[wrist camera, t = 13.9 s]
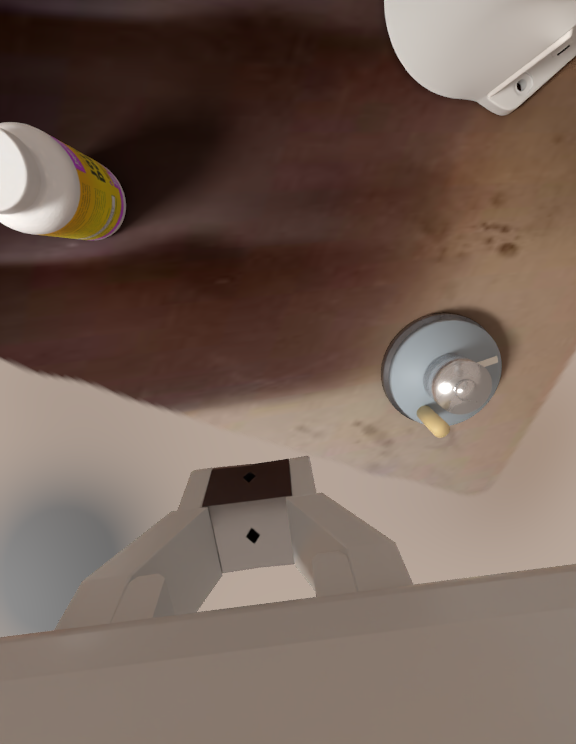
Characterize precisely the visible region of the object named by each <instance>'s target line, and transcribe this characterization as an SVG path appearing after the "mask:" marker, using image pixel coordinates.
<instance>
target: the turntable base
mask: <svg viewBox="0 0 576 744" xmlns="http://www.w3.org/2000/svg"><path fill="white" fill-rule="evenodd" d="M441 319H457V320H462V321H465V322H468V323H471V324H474V325H476V326H478V327H480V328H482V329H483V330H484V328H483V327H482V326H480V325H479V324H478V323H476V322H475V321H473V320H471V319H469V318H466V317H463V316H460V315H456V314H451V313H436V314H431V315H427V316H424V317H421V318H419V319H417V320H415V321H413V322H411V323H410V324H408V325H407V326H406V327H404V328H403V329H402V330H401V331H400V332H399V333H398V334H397V335H396V336H395V337H394V339H393V340H392V341H391V343H390V345H389V346H388V348H387V350H386V352H385V355H384V358H383V362H382V367H381V380H382V386H383V389H384V392H385V394H386V396H387V398H388V399H389V401H390V402H391V403H392V405H393V406H394V407H395V408H396V409H397V410H398V411H399V412H400V413H401V414H402V415H404V416H406V417H407V418H409V419H411V420H413V419H412V418H410V417H409V416H408V415H406V414H405V413H404V412H403V410H402V409H401V408H400V407H399V406H398V405H397V403H396V402H395V400H394V398H393V396H392V394H391V391H390V387H389V380H388V379H389V368H390V364H391V360H392V358H393V355H394V353H395V351H396V350H397V348H398V346H399V345H400V344H401V343H402V341H403V340H404V339H405V338H406V337H407V336H408V335H409V334H410V333H412V332H413V331H414V330H416V329H417V328H419V327H420V326H422V325H425V324H427V323H429V322H432V321H436V320H441ZM414 421H415V420H414Z"/></svg>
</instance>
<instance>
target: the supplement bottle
mask: <svg viewBox="0 0 576 744" xmlns="http://www.w3.org/2000/svg"><path fill="white" fill-rule="evenodd" d="M125 212H126V200H125V195H124V192H123V189H122V187H121V185H120V183H119V181H118V180H117V178H116V177H115V176H114V175H113V174H112V173H111V172H110V171H109V170H108V169H107V168H106V167H104V166H103V165H101V164H100V163H98V162H96V161H95V160H93V159H91V158H89V157H88V156H86V155H84V154H83V153H81V152H79V151H77V150H75V149H73V148H72V147H70V146H68V145H66V144H64V143H62V142H61V141H59V140H57V139H55V138H54V137H52V136H50V135H48V134H47V133H45V132H43V131H41V130H39V129H37V128H35V127H32V126H29V125H26V124H22V123H16V122H5V123H0V222H1V223H2V224H4V225H6V226H8V227H10V228H12V229H14V230H17V231H20V232H23V233H29V234H36V235H46V236H56V237H64V238H73V239H82V240H101V239H104V238H107V237H109V236H111V235H112V234H113V233H115V232H116V231H117V230H118V229H119V227H120V226H121V224H122V222H123V220H124V217H125Z"/></svg>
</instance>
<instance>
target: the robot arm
mask: <svg viewBox="0 0 576 744" xmlns="http://www.w3.org/2000/svg"><path fill="white" fill-rule="evenodd" d="M384 9H385V18H386V24H387V29H388V33H389V37H390V40H391V43H392V45H393V48H394V50H395V52H396V54H397V56H398V58H399V60H400V62H401V63H402V65H403V66H404V68H405V69H406V70H407V72H408V73H409V74H410V75H411V76H412V77H413V78H414V79H415V80H416V81H417V82H418V83H419V84H421V85H422V86H423V87H425V88H426V89H428V90H430V91H432V92H434V93H436V94H439V95H441V96H445V97H449V98H456V99H467V100H472V101H476V102H478V103H479V104H480V105H482V106H483V107H485V108H486V109H488V110H489V111H491V112H493V113H495V114H497V115H502V116H503V115H508V114H510V113H511V112H513V111H514V110H515V109H516V108H517V107H519V106H520V105H521V104H522V103H523V102H524V101H525V100H527V99H528V98H529V97H530V96H531V95H532V94H533V93H534V92H536V91H537V90H538V89H539V88H540V87H541V86H542V85H543V84H545V83H546V82H547V81H548V80H549V79H550V78H551V77H552V76H554V75H555V74H556V73H557V72H558V71H559V70H560V69H561V68H563V67H564V66H565V65H566V64H567V63H568V62H569V61H570V60H572V59H573V58H574V57H575V56H576V0H384ZM517 83H519V84H520V85H521V91H519V90H518V89H517ZM289 461H290V463H289ZM291 564H295V566H296V568H297V569H298V570H299V571H300V573H301V574H302V575H303V576H304V578H305V579H306V580H307V581H308V583H309V584H310V585H311V586H312V588H313V589H314V590H315V591H316V597H313V598H306V599H297V600H289V601H282V602H274V603H266V604H259V605H251V606H243V607H235V608H227V609H219V610H211V611H204V612H197V611H198V609H199V608H200V606H201V605H202V604H203V602H204V601H205V599H206V598H207V596H208V595H209V594H210V592H211V591H212V589H213V588H214V587H215V585H216V584H217V582H218V581H219V579H220V578H221V577H222V573H227V572H233V571H240V570H246V569H253V568H259V567H270V566H280V565H291ZM0 744H576V564H572V565H564V566H556V567H549V568H541V569H533V570H525V571H517V572H509V573H501V574H494V575H486V576H478V577H470V578H463V579H455V580H447V581H439V582H431V583H423V584H415V585H413V583H412V580H411V578H410V576H409V573H408V571H407V569H406V567H405V564H404V562H403V560H402V557H401V555H400V552H399V550H398V548H397V546H396V543H395V542H393V541H392V540H391V539H389V538H388V537H386V536H385V535H383V534H382V533H380V532H379V531H377V530H376V529H374V528H373V527H371V526H370V525H369V524H367V523H366V522H364V521H363V520H361V519H360V518H358V517H357V516H355V515H354V514H353V513H351V512H350V511H348V510H347V509H345V508H344V507H342V506H341V505H339V504H338V503H336V502H335V501H334V500H332V499H331V498H329V497H327V496H326V495H325V494H323V493H316V489H315V484H314V478H313V473H312V468H311V463H310V458H309V456H304V457H298V458H292V459H284V460H278V461H271V462H264V463H258V464H246V465H237V466H228V467H218V468H207V469H200V470H194V471H192V473H191V475H190V478H189V481H188V483H187V486H186V489H185V491H184V494H183V497H182V499H181V502H180V505H179V507H178V510H177V511H172V512H170V513H169V514H168V515H166V516H165V517H164V518H163V519H161V520H160V521H159V522H157V523H156V524H155V525H154V526H152V527H151V528H150V529H148V530H147V531H146V532H145V533H143V534H142V535H141V536H140V537H138V538H137V539H136V540H134V541H133V542H132V543H131V544H129V545H128V546H127V547H126V548H124V549H123V550H122V551H120V552H119V553H118V554H117V555H115V556H114V557H113V558H112V559H110V560H109V561H108V562H106V563H105V564H104V565H103V566H101V567H100V568H99V569H98V570H96V571H95V572H94V573H92V574H91V575H90V576H89V577H87V578H86V579H85V580H84V581H83V582H82V583H81V585H80V586H79V588H78V590H77V592H76V593H75V595H74V597H73V599H72V600H71V602H70V604H69V605H68V607H67V609H66V611H65V612H64V614H63V616H62V618H61V619H60V621H59V623H58V625H57V626H56V628H55V630H54V631H47V632H38V633H30V634H22V635H15V636H7V637H0Z"/></svg>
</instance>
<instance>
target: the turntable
mask: <svg viewBox="0 0 576 744" xmlns="http://www.w3.org/2000/svg"><path fill="white" fill-rule="evenodd" d="M448 353H456V354H460V355H463V356H465V357H466V358H468V359H470V360H472V361H474V362H476V363H478V364H480V365H482V366H483V367H485V368H486V369H487V370H488V372H489V373H490V375H491V379H492V389H491V393H490V395H489V397H488V399H487V400H486V402H485V403H484V404H483V405H482V406H481V407H480V408H478V409H477V410H475V411H473V412H471V413H468V414H461V415H458V414H453V413H450V412H448V411H446V410H445V409H444V408H442V407H441V406H440V405H439V404H438V403H437V402H435V401H434V400H433V399H432V398H431V397H430V396H429V395H428V394H427V393H426V391H425V389H424V385H423V377H424V373H425V371H426V369H427V367H428V365H429V364H430V363H431V362H432V361H433V360H434V359H436V358H437V357H439V356H441V355H444V354H448ZM501 370H502V362H501V355H500V352H499V349H498V347H497V345H496V343H495V341H494V340H493V338H492V337H491V336H490V335H489V334H488V333H487V332H486V331H485V330H483V329H482V328H480V327H478V326H476V325H474V324H471V323H468V322H465V321H462V320H457V319H441V320H436V321H432V322H429V323H427V324H425V325H422V326H420V327H419V328H417V329H416V330H414V331H413V332H412V333H410V334H409V335H408V336H407V337H406V338H405V339H404V340H403V341H402V343H401V344H400V345H399V346H398V348H397V350H396V351H395V353H394V355H393V358H392V360H391V364H390V368H389V379H388V380H389V387H390V391H391V394H392V396H393V398H394V400H395V402H396V403H397V405H398V406H399V407H400V408H401V409H402V410H403V412H404V413H405V414H406V415H408V416H409V417H410V418H412V419H413V420H415V421H417V422H419V423H421V424H425V426H426V427H427V428H428V429H429V430H430V431H431V432H432V433H433V434H434V435H435V436H436V437H439V438H442V437H445V436H446V435H447V434H448V433H449V431H450V427H449V425H454V424H457V423H460V422H463V421H465V420H467V419H469V418H470V417H472V416H474V415H475V414H476V413H478V412H479V411H480V410H481V409H482V408H483V407H484V406H485V405H486V404H487V403H488V402H489V400H490V399H491V398H492V396H493V395H494V393H495V391H496V389H497V386H498V384H499V381H500V377H501Z"/></svg>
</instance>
